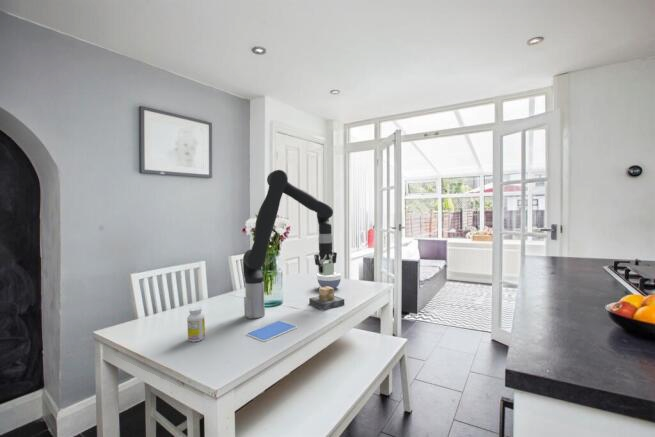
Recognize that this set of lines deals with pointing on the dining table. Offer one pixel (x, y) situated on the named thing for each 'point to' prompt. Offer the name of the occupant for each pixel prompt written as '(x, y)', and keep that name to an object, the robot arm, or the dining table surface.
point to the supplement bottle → (196, 325)
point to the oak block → (326, 293)
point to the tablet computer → (271, 331)
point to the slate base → (326, 302)
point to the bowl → (329, 280)
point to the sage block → (327, 269)
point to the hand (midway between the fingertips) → (326, 271)
